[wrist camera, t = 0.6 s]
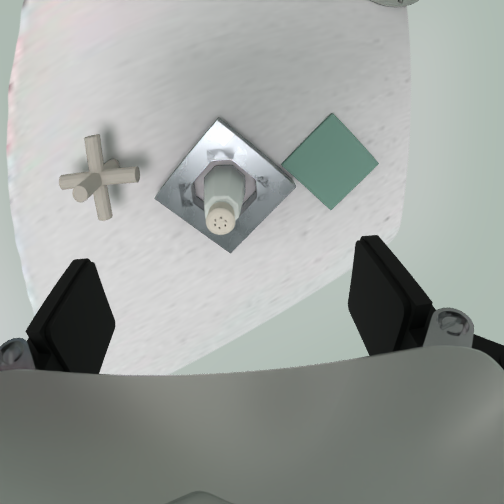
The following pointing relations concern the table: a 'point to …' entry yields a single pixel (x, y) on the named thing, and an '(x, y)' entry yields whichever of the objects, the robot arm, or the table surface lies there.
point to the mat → (330, 162)
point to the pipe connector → (98, 178)
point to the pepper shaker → (223, 198)
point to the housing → (245, 156)
